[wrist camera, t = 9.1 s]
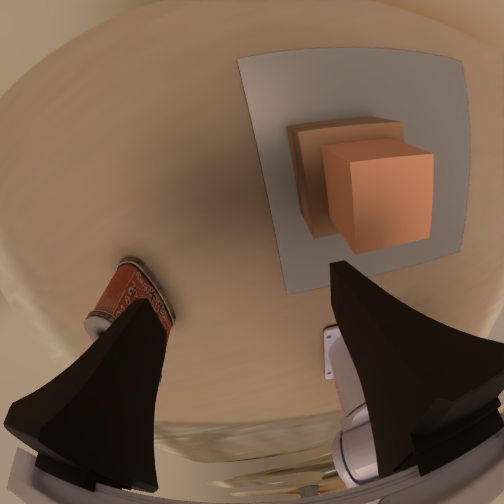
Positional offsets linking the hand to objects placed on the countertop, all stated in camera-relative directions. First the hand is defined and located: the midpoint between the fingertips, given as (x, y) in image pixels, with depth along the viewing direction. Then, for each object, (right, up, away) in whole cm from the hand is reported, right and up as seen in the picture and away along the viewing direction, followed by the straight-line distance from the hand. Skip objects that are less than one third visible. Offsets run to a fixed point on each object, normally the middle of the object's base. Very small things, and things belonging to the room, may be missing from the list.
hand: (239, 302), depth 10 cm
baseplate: (+10, +8, +8) cm, 15 cm away
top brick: (+6, +6, +3) cm, 9 cm away
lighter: (-9, -2, +13) cm, 16 cm away
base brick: (+6, +8, +7) cm, 12 cm away
